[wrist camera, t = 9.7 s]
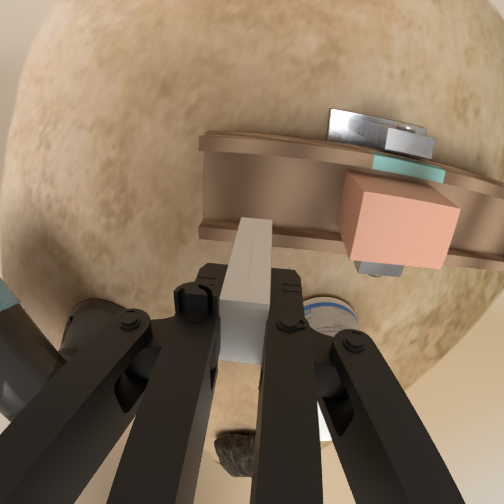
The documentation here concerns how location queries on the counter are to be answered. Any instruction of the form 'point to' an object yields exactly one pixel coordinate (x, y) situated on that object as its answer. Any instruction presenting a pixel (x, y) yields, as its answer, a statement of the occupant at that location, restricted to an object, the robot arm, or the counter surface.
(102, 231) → the counter surface
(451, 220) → the block
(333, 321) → the supplement tub
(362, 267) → the stand
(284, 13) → the counter surface
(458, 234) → the beam
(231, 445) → the rock
